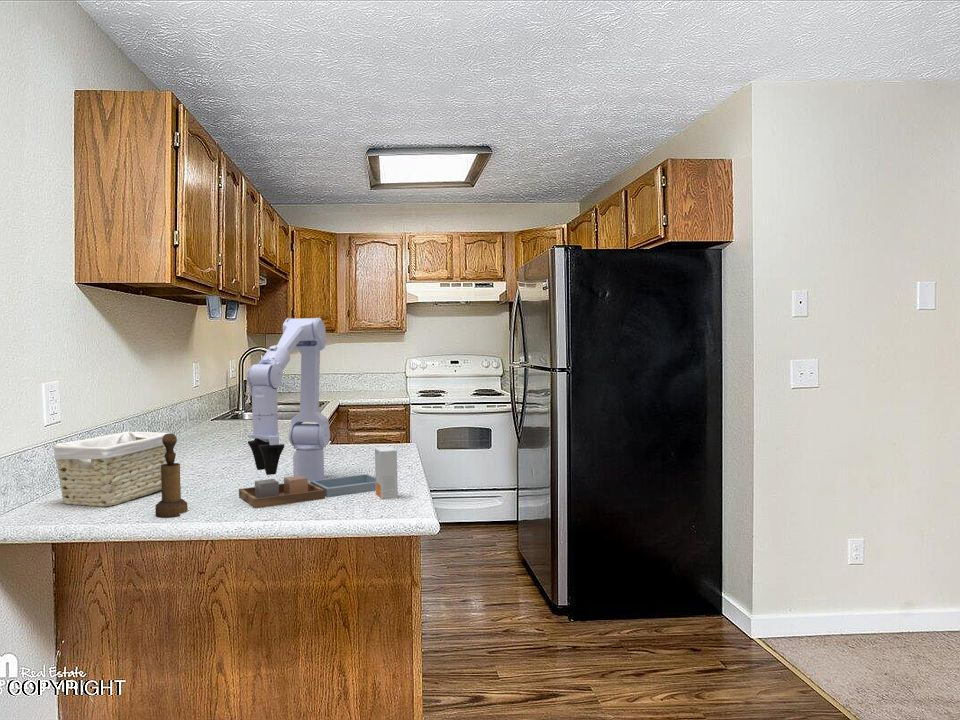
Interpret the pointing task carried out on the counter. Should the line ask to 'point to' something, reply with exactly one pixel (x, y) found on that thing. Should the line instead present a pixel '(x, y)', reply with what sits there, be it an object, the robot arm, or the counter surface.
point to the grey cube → (266, 488)
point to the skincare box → (386, 472)
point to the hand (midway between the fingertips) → (266, 471)
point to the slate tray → (346, 485)
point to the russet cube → (295, 484)
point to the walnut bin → (281, 496)
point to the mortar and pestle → (170, 483)
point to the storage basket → (110, 468)
